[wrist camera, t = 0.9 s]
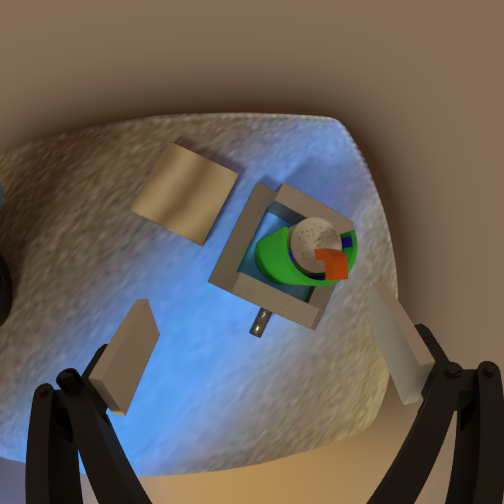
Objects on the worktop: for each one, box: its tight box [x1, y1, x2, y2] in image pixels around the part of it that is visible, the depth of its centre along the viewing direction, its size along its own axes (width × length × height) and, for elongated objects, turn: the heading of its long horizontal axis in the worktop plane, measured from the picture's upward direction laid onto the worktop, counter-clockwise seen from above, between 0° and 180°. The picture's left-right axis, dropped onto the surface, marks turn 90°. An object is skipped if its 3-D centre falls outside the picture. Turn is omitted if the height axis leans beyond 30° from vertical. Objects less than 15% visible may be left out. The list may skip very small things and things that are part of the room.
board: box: [131, 142, 239, 246], centre depth 41 cm, size 12×12×2 cm
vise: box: [208, 182, 354, 338], centre depth 41 cm, size 18×21×6 cm
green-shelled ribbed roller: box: [255, 217, 357, 286], centre depth 35 cm, size 9×8×18 cm
